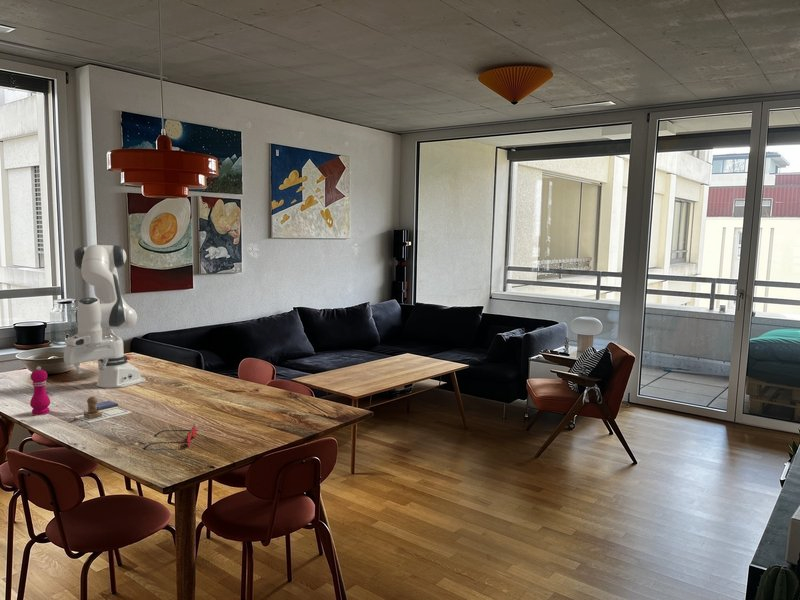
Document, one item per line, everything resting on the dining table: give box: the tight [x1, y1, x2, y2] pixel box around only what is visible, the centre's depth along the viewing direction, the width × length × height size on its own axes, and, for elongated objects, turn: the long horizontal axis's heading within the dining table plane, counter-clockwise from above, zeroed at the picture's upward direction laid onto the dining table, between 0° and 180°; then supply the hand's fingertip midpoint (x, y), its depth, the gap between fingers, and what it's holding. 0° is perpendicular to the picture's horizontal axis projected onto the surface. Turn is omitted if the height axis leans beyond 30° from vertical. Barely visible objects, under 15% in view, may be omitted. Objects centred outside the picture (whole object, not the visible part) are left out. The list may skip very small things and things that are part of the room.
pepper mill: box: [29, 365, 51, 416], centre depth 251 cm, size 7×7×20 cm
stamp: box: [83, 396, 102, 419], centre depth 247 cm, size 5×5×8 cm
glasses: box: [142, 425, 199, 450], centre depth 222 cm, size 14×16×5 cm
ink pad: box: [97, 400, 119, 411], centre depth 263 cm, size 9×7×1 cm
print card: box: [74, 406, 133, 424], centre depth 252 cm, size 18×12×1 cm, turn 144°
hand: (91, 371), depth 247 cm, fingers open, 8 cm apart
